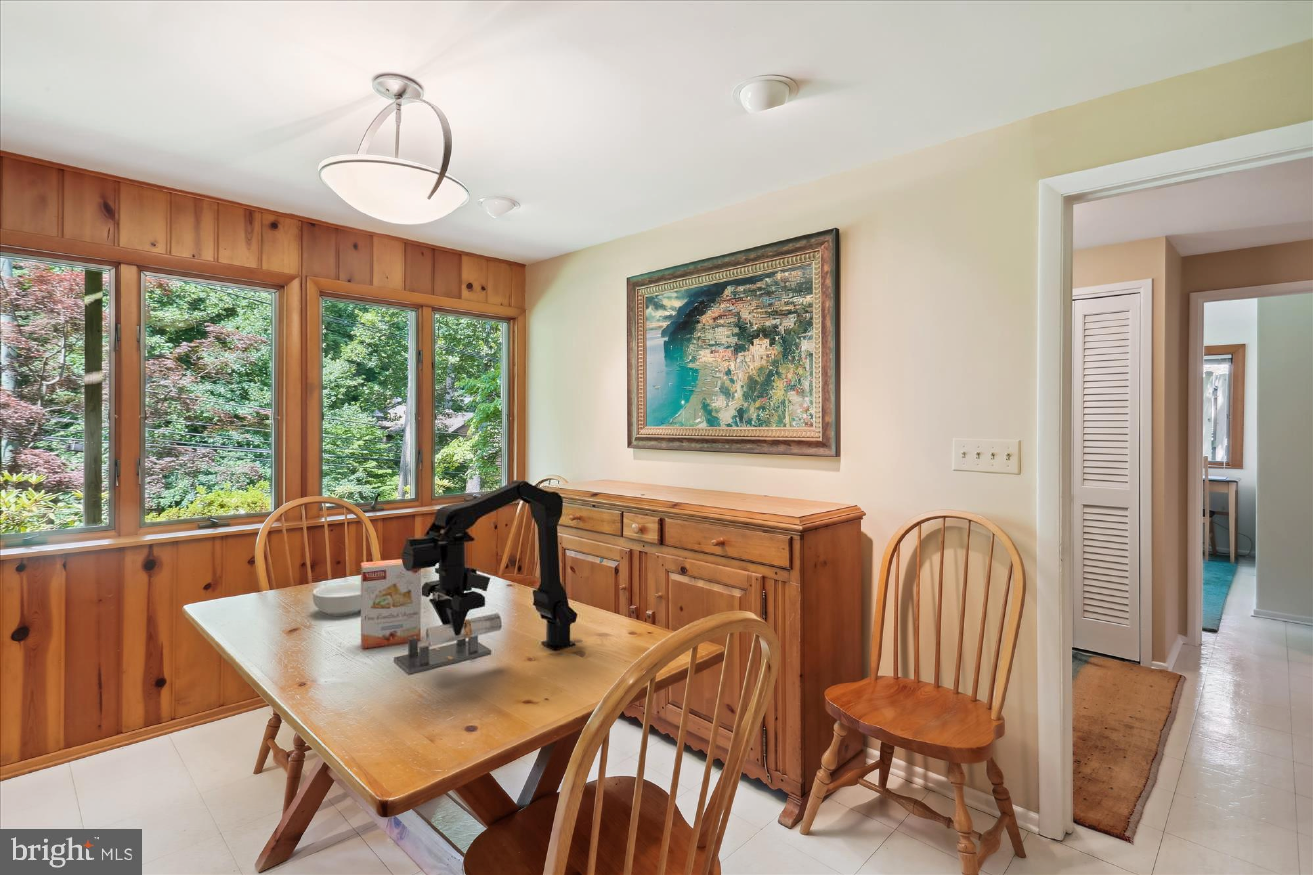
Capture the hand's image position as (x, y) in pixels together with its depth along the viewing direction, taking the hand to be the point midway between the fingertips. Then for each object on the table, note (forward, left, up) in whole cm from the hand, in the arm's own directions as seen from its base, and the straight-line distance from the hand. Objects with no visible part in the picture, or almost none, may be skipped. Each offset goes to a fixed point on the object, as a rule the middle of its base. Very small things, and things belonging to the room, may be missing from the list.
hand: (452, 632), depth 143 cm
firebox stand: (+12, -3, -10) cm, 16 cm away
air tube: (-1, -3, -2) cm, 3 cm away
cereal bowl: (+66, +5, -10) cm, 67 cm away
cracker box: (+31, +3, -10) cm, 33 cm away
